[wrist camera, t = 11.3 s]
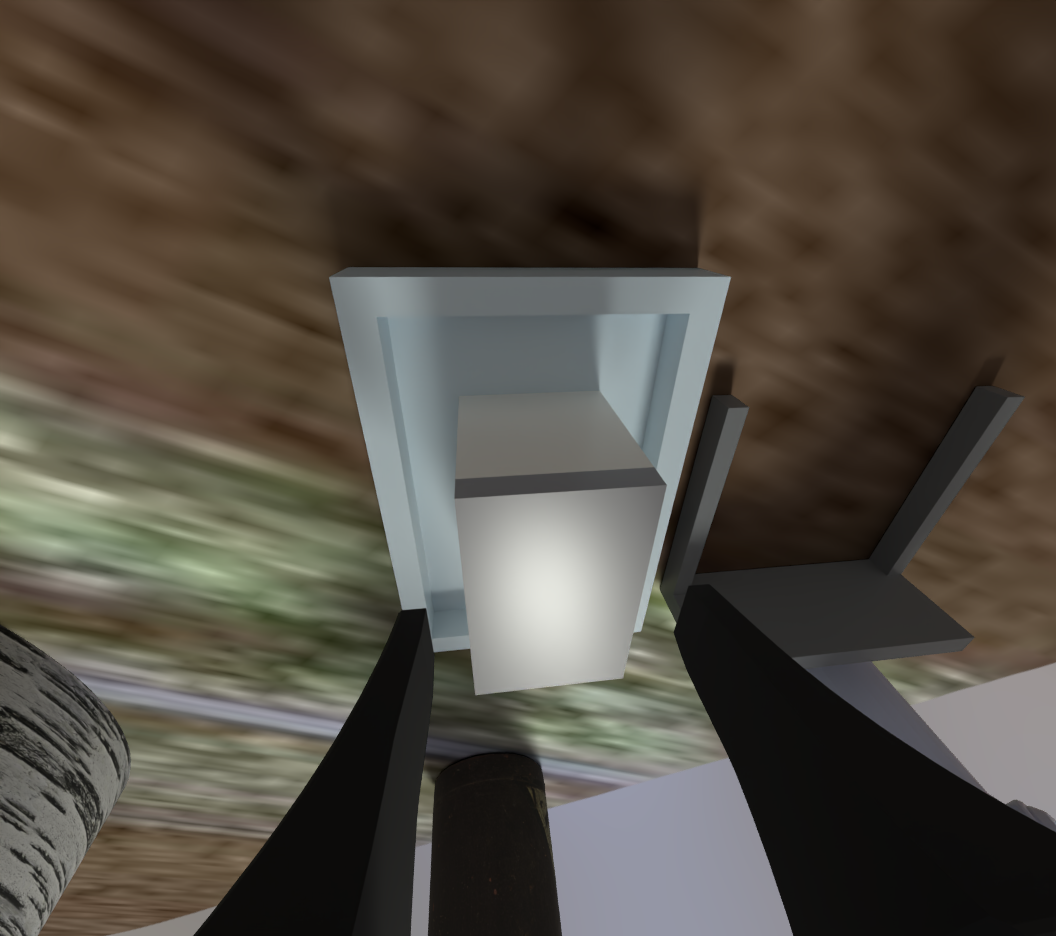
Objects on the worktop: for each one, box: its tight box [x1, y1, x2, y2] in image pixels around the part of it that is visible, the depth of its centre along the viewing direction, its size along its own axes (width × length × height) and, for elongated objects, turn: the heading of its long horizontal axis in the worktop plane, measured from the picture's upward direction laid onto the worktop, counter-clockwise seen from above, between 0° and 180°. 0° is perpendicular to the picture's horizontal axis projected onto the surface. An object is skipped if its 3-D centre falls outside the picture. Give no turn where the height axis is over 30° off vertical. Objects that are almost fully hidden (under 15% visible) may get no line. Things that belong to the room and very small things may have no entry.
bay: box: [660, 386, 1025, 669], centre depth 18 cm, size 11×13×5 cm
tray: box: [329, 267, 731, 652], centre depth 16 cm, size 16×11×2 cm
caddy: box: [454, 391, 667, 695], centre depth 14 cm, size 8×5×6 cm, turn 179°
